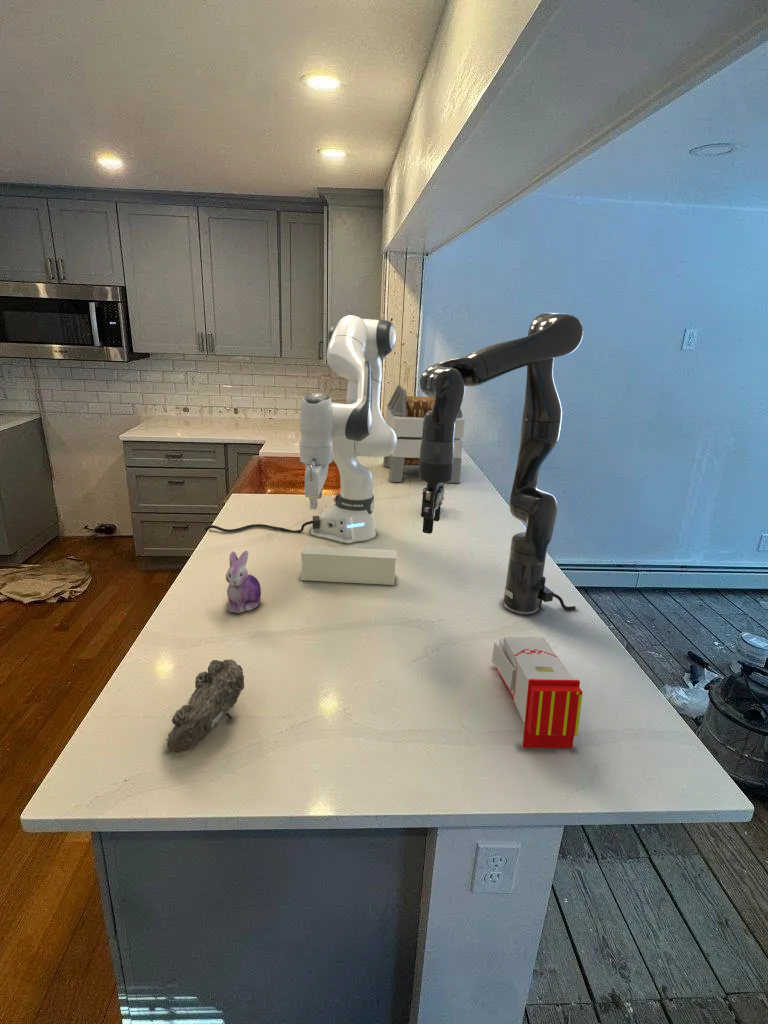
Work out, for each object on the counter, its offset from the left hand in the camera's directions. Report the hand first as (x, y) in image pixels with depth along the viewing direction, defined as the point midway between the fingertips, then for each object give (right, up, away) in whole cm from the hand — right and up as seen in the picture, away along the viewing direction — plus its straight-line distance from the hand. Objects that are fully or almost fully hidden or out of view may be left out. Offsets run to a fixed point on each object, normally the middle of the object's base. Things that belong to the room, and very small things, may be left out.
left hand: (316, 503), depth 158 cm
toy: (+48, -41, -41) cm, 76 cm away
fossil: (-14, -42, -50) cm, 66 cm away
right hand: (+30, -6, -27) cm, 40 cm away
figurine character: (+37, -2, +65) cm, 75 cm away
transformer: (+36, +16, +117) cm, 124 cm away
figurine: (-18, -27, -10) cm, 34 cm away
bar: (+9, -22, +8) cm, 25 cm away
